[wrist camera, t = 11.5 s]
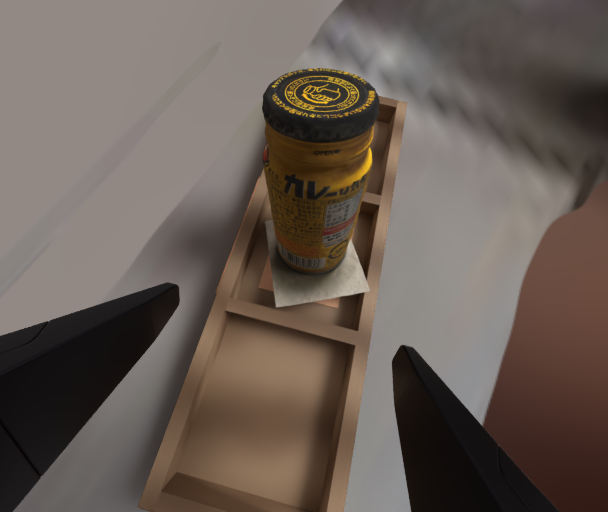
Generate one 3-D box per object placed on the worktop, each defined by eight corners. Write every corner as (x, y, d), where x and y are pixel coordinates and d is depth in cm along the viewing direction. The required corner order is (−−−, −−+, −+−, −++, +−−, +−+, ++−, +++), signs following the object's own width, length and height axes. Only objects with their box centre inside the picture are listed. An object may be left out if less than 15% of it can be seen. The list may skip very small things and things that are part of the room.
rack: (327, 524, 16) (334, 567, 13) (161, 475, 16) (134, 506, 14) (395, 126, 27) (407, 102, 24) (295, 102, 28) (295, 76, 25)
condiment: (340, 211, 22) (371, 54, 12) (369, 292, 18) (456, 151, 8) (265, 222, 22) (229, 65, 11) (276, 309, 17) (235, 179, 7)
